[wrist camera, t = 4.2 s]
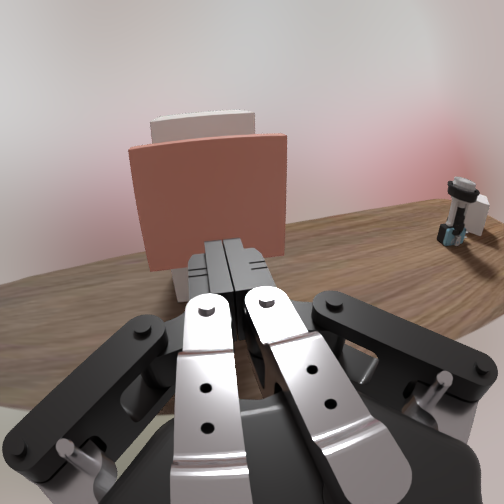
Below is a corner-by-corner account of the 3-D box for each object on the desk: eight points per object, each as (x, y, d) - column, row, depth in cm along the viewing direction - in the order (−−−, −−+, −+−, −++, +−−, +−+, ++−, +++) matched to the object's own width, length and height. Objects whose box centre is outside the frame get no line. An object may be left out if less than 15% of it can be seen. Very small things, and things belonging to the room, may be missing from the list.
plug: (284, 255, 20) (287, 135, 16) (150, 271, 19) (128, 150, 15) (259, 213, 26) (258, 123, 22) (158, 224, 25) (146, 134, 21)
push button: (454, 232, 41) (467, 176, 36) (475, 247, 36) (491, 188, 31) (429, 235, 40) (442, 173, 35) (450, 252, 35) (467, 186, 30)
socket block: (257, 292, 29) (254, 112, 21) (177, 302, 28) (149, 122, 20) (245, 256, 35) (240, 109, 27) (178, 264, 34) (159, 116, 26)
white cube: (478, 225, 44) (486, 196, 41) (480, 237, 39) (489, 205, 36) (452, 216, 47) (459, 187, 44) (452, 226, 43) (460, 195, 40)
